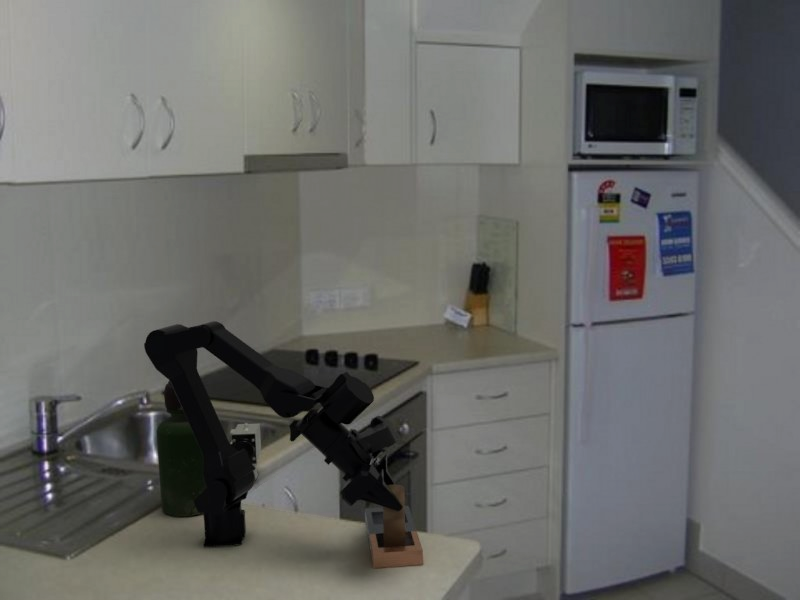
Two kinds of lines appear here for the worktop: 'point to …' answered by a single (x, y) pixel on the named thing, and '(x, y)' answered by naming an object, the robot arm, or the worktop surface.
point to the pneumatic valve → (248, 441)
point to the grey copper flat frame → (392, 554)
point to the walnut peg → (394, 520)
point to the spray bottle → (178, 460)
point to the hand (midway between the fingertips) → (401, 504)
